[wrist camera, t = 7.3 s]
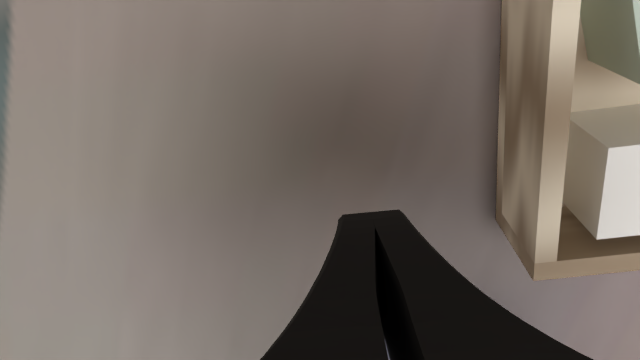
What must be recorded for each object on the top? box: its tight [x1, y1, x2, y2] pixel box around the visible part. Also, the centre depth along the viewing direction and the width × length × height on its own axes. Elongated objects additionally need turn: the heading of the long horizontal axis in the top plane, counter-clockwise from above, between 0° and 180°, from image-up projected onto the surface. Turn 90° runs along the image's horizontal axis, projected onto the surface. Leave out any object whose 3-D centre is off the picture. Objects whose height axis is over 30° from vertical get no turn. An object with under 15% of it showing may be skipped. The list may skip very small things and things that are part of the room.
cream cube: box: [562, 104, 640, 240], centre depth 19 cm, size 4×4×4 cm
